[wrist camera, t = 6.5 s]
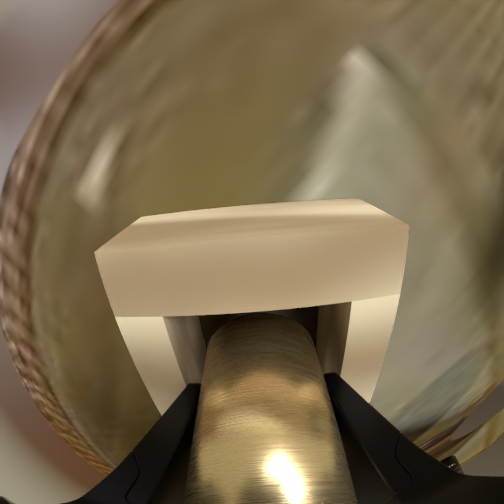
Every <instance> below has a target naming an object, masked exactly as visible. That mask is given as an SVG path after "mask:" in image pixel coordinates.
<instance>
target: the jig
mask: <svg viewBox="0 0 504 504" xmlns="http://www.w3.org/2000/svg"><path fill="white" fill-rule="evenodd" d="M409 228H410V226H409V225H407V224H405V223H403V222H402V221H400V220H398V219H396V218H395V217H393V216H391V215H389V214H387V213H385V212H384V211H382V210H380V209H378V208H376V207H374V206H372V205H370V204H368V203H366V202H364V201H362V200H361V199H335V200H314V201H297V202H282V203H268V204H256V205H244V206H233V207H222V208H212V209H203V210H194V211H185V212H177V213H168V214H160V215H153V216H145V217H141V218H139V219H138V220H136V221H135V222H134V223H132V224H131V225H130V226H128V227H127V228H125V229H124V230H123V231H121V232H120V233H119V234H117V235H116V236H115V237H113V238H112V239H111V240H109V241H108V242H107V243H106V244H104V245H103V246H102V247H100V248H99V249H98V250H97V251H95V252H94V254H95V257H96V261H97V264H98V268H99V271H100V275H101V278H102V281H103V284H104V287H105V290H106V293H107V296H108V299H109V302H110V305H111V308H112V310H113V313H114V316H115V318H116V321H117V324H118V326H119V329H120V331H121V334H122V336H123V339H124V341H125V343H126V346H127V348H128V350H129V352H130V355H131V357H132V359H133V361H134V364H135V366H136V368H137V370H138V372H139V374H140V376H141V378H142V380H143V382H144V384H145V386H146V388H147V390H148V392H149V394H150V396H151V398H152V399H153V401H154V403H155V405H156V407H157V409H158V410H159V412H160V414H161V416H162V415H163V414H164V413H165V412H166V410H167V409H168V408H169V407H170V406H171V404H172V403H173V402H174V401H175V399H176V398H177V397H178V396H179V395H180V393H181V392H182V391H183V390H184V388H185V387H186V386H187V385H188V384H189V383H200V384H201V382H202V376H203V370H204V364H205V358H206V353H207V349H206V345H205V340H204V336H203V332H202V328H201V323H200V319H199V315H216V314H232V313H247V312H260V311H272V310H282V309H293V308H302V307H311V306H319V308H318V326H317V341H316V352H317V356H318V359H319V362H320V366H321V369H322V372H323V375H324V374H325V373H331V372H336V373H337V374H338V375H339V376H340V377H341V378H342V379H343V380H345V381H346V382H347V383H348V384H349V385H350V386H351V387H352V388H353V389H354V390H355V391H356V392H357V393H358V394H359V395H361V396H362V397H363V398H364V399H365V400H366V401H367V402H368V403H370V400H371V398H372V395H373V392H374V389H375V386H376V383H377V381H378V378H379V374H380V371H381V368H382V365H383V362H384V358H385V355H386V351H387V348H388V344H389V341H390V337H391V333H392V329H393V325H394V320H395V316H396V312H397V307H398V302H399V297H400V292H401V287H402V281H403V275H404V269H405V262H406V255H407V247H408V238H409Z"/></svg>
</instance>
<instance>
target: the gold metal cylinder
mask: <svg viewBox="0 0 504 504" xmlns="http://www.w3.org/2000/svg"><path fill="white" fill-rule="evenodd" d="M184 504H358V503H357V499H356V495H355V491H354V486H353V482H352V478H351V474H350V470H349V466H348V462H347V458H346V455H345V451H344V447H343V443H342V439H341V436H340V432H339V428H338V425H337V421H336V417H335V414H334V410H333V407H332V403H331V400H330V396H329V393H328V389H327V386H326V382H325V379H324V376H323V372H322V369H321V366H320V362H319V359H318V356H317V352H316V349H315V346H314V343H313V340H312V337H311V335H310V334H309V332H308V331H307V330H306V329H305V328H304V327H303V326H302V325H301V324H300V323H298V322H296V321H295V320H293V319H291V318H288V317H285V316H282V315H278V314H271V313H255V314H248V315H244V316H240V317H238V318H235V319H233V320H231V321H229V322H227V323H225V324H224V325H222V326H221V327H220V328H219V329H218V330H217V331H216V332H215V333H214V334H213V336H212V337H211V339H210V341H209V343H208V347H207V353H206V358H205V364H204V370H203V376H202V382H201V388H200V394H199V400H198V406H197V413H196V419H195V426H194V433H193V439H192V446H191V453H190V460H189V468H188V475H187V483H186V491H185V499H184Z"/></svg>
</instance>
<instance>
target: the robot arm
mask: <svg viewBox="0 0 504 504" xmlns="http://www.w3.org/2000/svg"><path fill="white" fill-rule="evenodd" d="M323 376H324V379H325V382H326V386H327V389H328V393H329V396H330V400H331V403H332V407H333V410H334V414H335V417H336V421H337V425H338V428H339V432H340V436H341V439H342V443H343V447H344V451H345V455H346V458H347V462H348V466H349V470H350V474H351V478H352V482H353V486H354V491H355V495H356V499H357V503H358V504H504V477H503V476H502V477H496V476H494V477H493V476H492V477H491V476H471V475H465V474H462V473H459V472H457V471H455V470H453V469H451V468H450V467H448V466H446V465H445V464H443V463H441V462H440V461H438V460H437V459H435V458H434V457H432V456H430V455H429V454H427V453H426V452H425V451H423V450H422V449H420V448H419V447H418V446H416V445H415V444H414V443H413V442H412V441H410V440H409V439H408V438H407V437H406V436H405V435H403V434H402V433H400V431H399V430H398V429H397V428H395V427H394V426H393V425H392V424H391V423H390V422H389V421H388V420H387V419H386V418H384V417H383V416H382V415H381V414H380V413H379V412H378V411H377V410H376V409H375V408H373V407H372V406H371V405H370V404H369V403H368V402H367V401H366V400H365V399H364V398H363V397H362V396H361V395H359V394H358V393H357V392H356V391H355V390H354V389H353V388H352V387H351V386H350V385H349V384H348V383H347V382H346V381H345V380H343V379H342V378H341V377H340V376H339V375H338V374H337V373H336V372H331V373H325V374H324V375H323ZM200 388H201V384H200V383H189V384H188V385H187V386H186V387H185V388H184V390H183V391H182V392H181V393H180V395H179V396H178V397H177V398H176V399H175V401H174V402H173V403H172V404H171V406H170V407H169V408H168V409H167V410H166V412H165V413H164V414H163V415H162V416H161V418H160V419H159V420H158V421H157V422H156V424H155V425H154V426H153V427H152V428H151V429H150V431H149V432H148V433H147V434H146V435H145V436H144V438H143V439H142V440H141V441H140V442H139V443H138V445H137V446H136V447H135V448H134V449H133V452H131V453H130V454H129V455H128V456H127V457H126V458H125V459H124V460H123V461H122V462H121V464H120V465H119V466H118V467H117V468H116V469H115V470H114V471H112V472H111V473H110V474H109V475H108V476H107V477H106V478H105V479H103V480H102V481H101V482H100V483H99V484H97V485H96V486H95V487H94V488H92V489H91V490H90V491H89V492H87V493H86V494H85V495H83V496H82V497H80V498H79V499H76V500H74V501H71V502H67V503H61V504H184V499H185V491H186V483H187V475H188V468H189V460H190V453H191V446H192V439H193V433H194V426H195V419H196V413H197V406H198V400H199V394H200ZM0 504H14V503H13V502H11V501H9V500H8V499H6V498H4V497H2V496H0Z"/></svg>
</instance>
